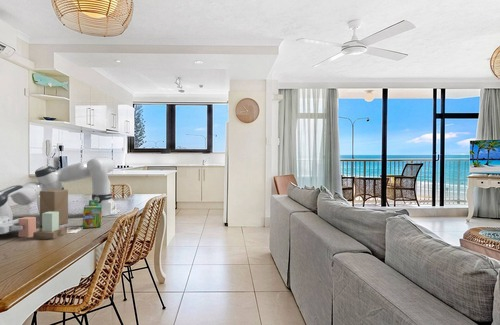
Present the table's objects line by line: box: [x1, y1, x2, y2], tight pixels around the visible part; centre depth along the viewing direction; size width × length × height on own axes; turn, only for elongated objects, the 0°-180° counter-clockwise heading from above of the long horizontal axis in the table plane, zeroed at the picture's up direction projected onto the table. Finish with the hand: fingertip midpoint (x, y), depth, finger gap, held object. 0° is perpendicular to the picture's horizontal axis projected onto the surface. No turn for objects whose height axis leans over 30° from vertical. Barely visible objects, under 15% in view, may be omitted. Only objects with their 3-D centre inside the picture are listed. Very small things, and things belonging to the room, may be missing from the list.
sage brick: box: [41, 211, 60, 232], centre depth 150 cm, size 5×5×9 cm
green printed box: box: [82, 199, 103, 229], centre depth 172 cm, size 9×9×15 cm
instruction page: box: [66, 226, 84, 234], centre depth 162 cm, size 12×9×1 cm
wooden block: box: [39, 189, 69, 227], centre depth 175 cm, size 10×10×20 cm
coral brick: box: [18, 216, 37, 238], centre depth 151 cm, size 5×5×9 cm
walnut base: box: [33, 227, 68, 240], centre depth 150 cm, size 10×10×3 cm
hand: (29, 225), depth 151 cm, fingers open, 6 cm apart
